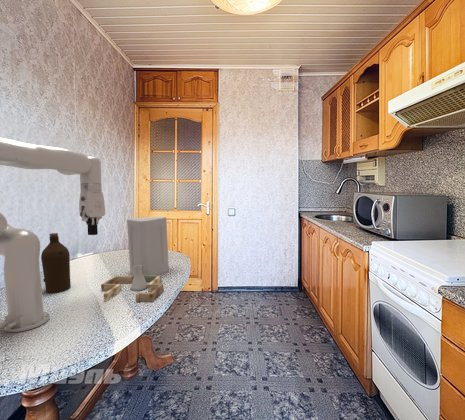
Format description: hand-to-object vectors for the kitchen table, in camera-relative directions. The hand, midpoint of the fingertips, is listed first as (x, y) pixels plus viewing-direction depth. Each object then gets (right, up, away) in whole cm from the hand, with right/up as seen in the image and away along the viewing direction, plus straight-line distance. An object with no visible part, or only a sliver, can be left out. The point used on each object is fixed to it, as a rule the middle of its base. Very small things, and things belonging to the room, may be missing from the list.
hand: (92, 234), depth 115 cm
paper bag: (+13, -23, +31) cm, 41 cm away
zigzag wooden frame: (+13, -25, +8) cm, 29 cm away
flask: (+15, -25, +11) cm, 31 cm away
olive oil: (-21, -26, +13) cm, 36 cm away
